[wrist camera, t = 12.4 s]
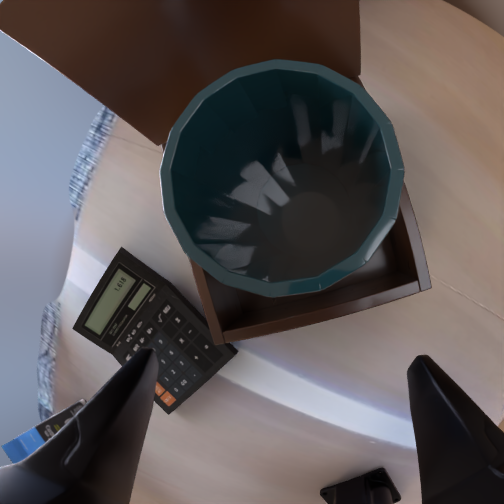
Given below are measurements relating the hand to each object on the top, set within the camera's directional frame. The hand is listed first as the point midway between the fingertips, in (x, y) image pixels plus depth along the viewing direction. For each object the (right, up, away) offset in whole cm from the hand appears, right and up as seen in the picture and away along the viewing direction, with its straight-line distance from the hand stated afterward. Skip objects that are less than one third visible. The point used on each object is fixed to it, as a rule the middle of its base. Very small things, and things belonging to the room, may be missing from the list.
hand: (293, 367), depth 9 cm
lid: (-3, +12, 0) cm, 13 cm away
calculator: (-9, -3, +14) cm, 18 cm away
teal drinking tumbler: (+2, +6, +10) cm, 12 cm away
